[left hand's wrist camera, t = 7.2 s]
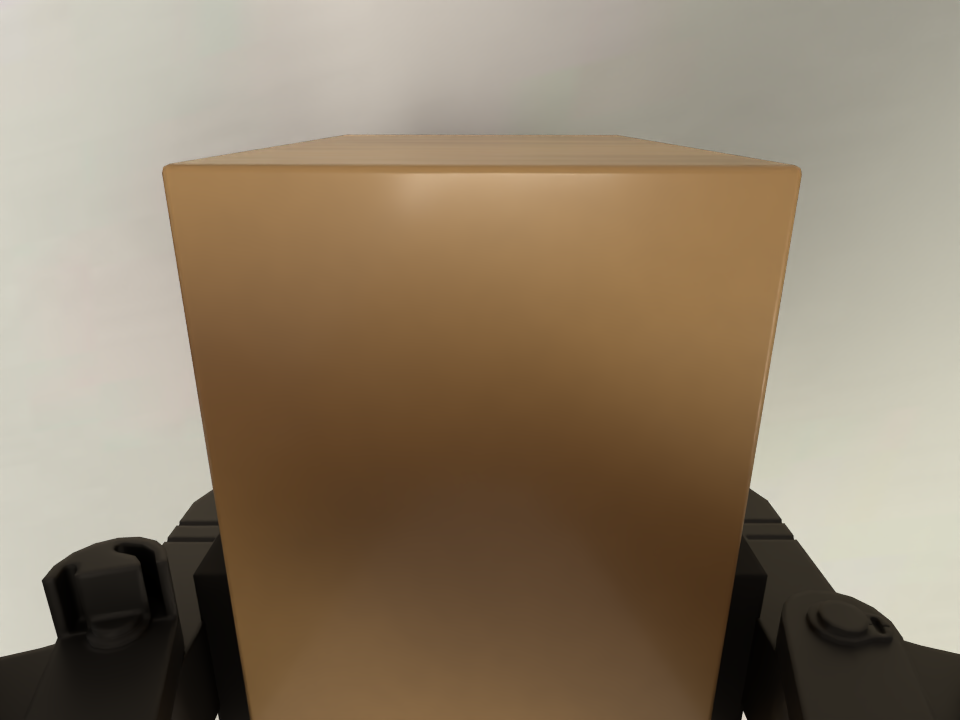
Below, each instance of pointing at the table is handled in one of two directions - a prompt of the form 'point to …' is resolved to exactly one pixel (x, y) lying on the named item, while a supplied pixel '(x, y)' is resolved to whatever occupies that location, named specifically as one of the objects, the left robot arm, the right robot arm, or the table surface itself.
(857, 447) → the table surface
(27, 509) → the table surface
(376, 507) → the post
